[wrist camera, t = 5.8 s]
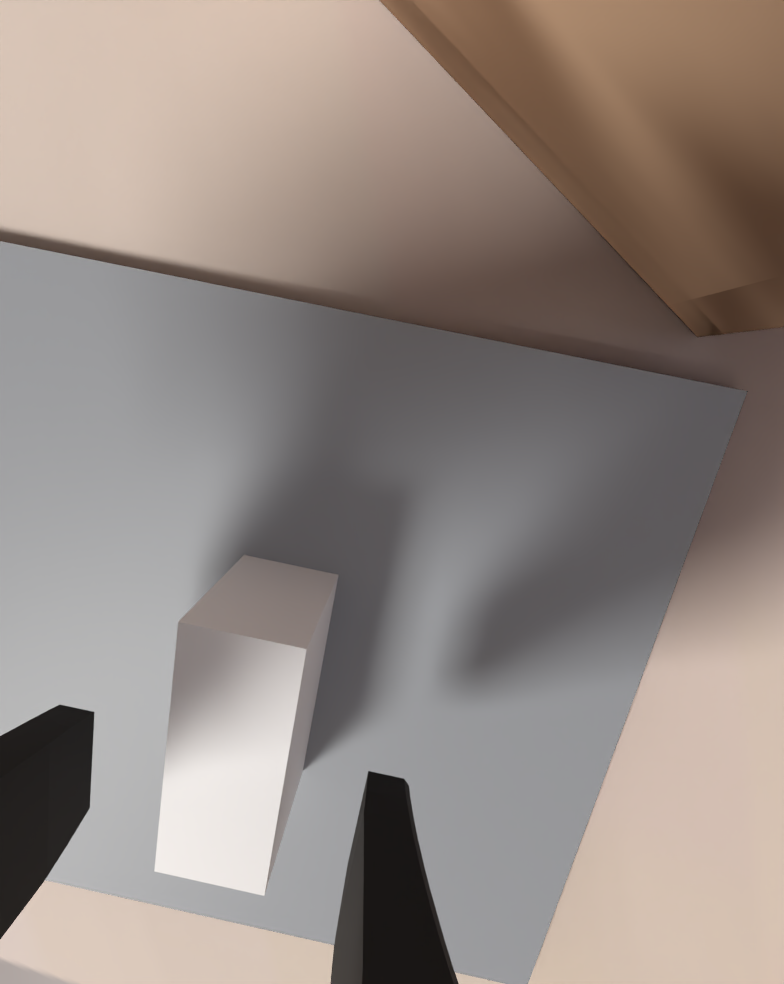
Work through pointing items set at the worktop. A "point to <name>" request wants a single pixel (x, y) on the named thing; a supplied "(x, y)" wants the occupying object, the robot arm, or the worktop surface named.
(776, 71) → the storage box
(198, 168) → the worktop surface
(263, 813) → the lid
